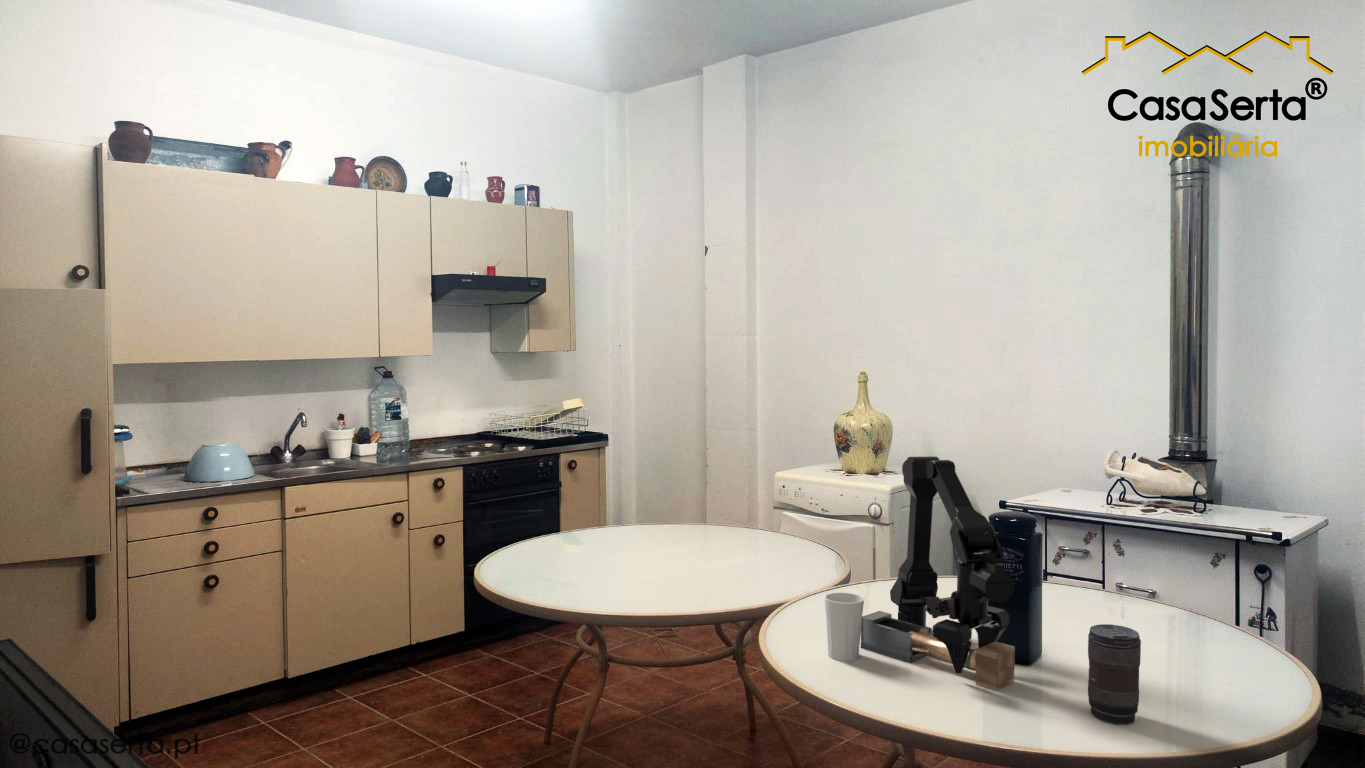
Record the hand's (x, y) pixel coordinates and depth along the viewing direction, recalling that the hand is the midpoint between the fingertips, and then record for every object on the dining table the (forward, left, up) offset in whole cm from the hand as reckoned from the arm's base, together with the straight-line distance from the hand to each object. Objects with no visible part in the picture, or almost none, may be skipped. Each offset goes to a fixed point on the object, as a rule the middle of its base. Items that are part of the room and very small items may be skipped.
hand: (970, 667), depth 168 cm
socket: (0, +5, -2) cm, 5 cm away
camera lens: (-1, +26, -2) cm, 26 cm away
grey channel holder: (0, -17, -2) cm, 18 cm away
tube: (0, -4, 0) cm, 4 cm away
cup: (+10, -23, -2) cm, 25 cm away
